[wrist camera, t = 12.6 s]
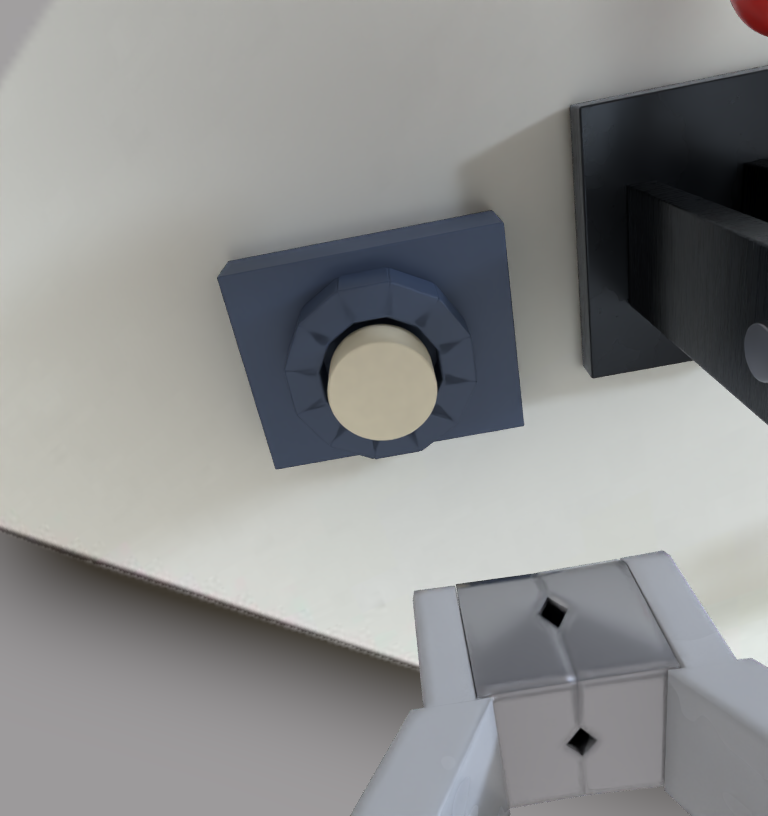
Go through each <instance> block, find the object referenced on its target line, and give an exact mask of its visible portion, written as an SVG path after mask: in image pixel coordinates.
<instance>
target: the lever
mask: <svg viewBox="0 0 768 816" xmlns="http://www.w3.org/2000/svg"><path fill="white" fill-rule="evenodd" d="M730 1H731V3H732V6H733V8H734V10H735V11H736V13H737V15H738V16H739V17H740V19H741V20H742V21H743V22H744V23H745V24H746V25H747V26H748V27H750V28H751V29H753V30H754V31H756V32H758V33H760V34H762V35H764V36H767V37H768V0H730Z"/></svg>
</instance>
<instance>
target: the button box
mask: <svg viewBox="0 0 768 816" xmlns="http://www.w3.org/2000/svg"><path fill="white" fill-rule="evenodd" d="M217 279H218V282H219V286H220V289H221V292H222V296H223V299H224V302H225V305H226V309H227V312H228V315H229V318H230V322H231V325H232V328H233V331H234V335H235V338H236V341H237V345H238V348H239V351H240V354H241V358H242V361H243V364H244V367H245V371H246V374H247V377H248V381H249V384H250V387H251V390H252V394H253V397H254V400H255V403H256V407H257V410H258V413H259V417H260V420H261V423H262V426H263V430H264V433H265V436H266V439H267V443H268V446H269V449H270V453H271V456H272V459H273V462H274V466H275V469H282V468H287V467H293V466H299V465H305V464H310V463H316V462H322V461H327V460H333V459H339V458H344V457H350V456H356V455H362V456H365V457H368V458H372V459H374V458H375V459H379V458H385V457H390V456H396V455H402V454H407V453H413V452H419V451H420V450H421V451H422V450H423V449H425V448H426V447H428V446H429V445H430V444H432V443H433V442H435V441H441V440H447V439H452V438H458V437H464V436H469V435H475V434H481V433H486V432H492V431H498V430H503V429H509V428H515V427H520V426H524V420H523V410H522V400H521V390H520V380H519V370H518V360H517V350H516V341H515V331H514V321H513V311H512V301H511V291H510V281H509V271H508V261H507V251H506V241H505V231H504V223H503V222H502V220H501V219H500V218H499V217H498V216H497V215H496V214H495V213H494V212H493V211H492V210H490V211H485V212H480V213H475V214H470V215H464V216H459V217H454V218H449V219H444V220H439V221H434V222H428V223H423V224H418V225H413V226H408V227H403V228H397V229H392V230H387V231H382V232H377V233H372V234H367V235H361V236H356V237H351V238H346V239H341V240H336V241H330V242H325V243H320V244H315V245H310V246H305V247H300V248H294V249H289V250H284V251H279V252H274V253H269V254H263V255H258V256H253V257H248V258H243V259H238V260H233V261H228V263H227V264H226V265H225V267H224V268H223V270H222V271H221V273H220V274H219V276H218V277H217ZM374 324H390V325H395V326H399V327H401V328H404V329H406V330H408V331H410V332H411V333H413V334H414V335H415V336H417V337H418V338H419V339H420V340H421V341H422V343H423V344H424V345H425V347H426V348H427V350H428V352H429V354H430V357H431V361H432V365H433V369H434V373H435V377H436V381H437V399H436V403H435V406H434V408H433V410H432V412H431V414H430V416H429V417H428V418H427V420H426V421H425V422H424V423H423V424H422V425H421V426H420V427H419V428H418V429H416V430H415V431H413V432H412V433H410V434H408V435H406V436H403V437H400V438H397V439H393V440H371V439H367V438H363V437H360V436H358V435H356V434H354V433H352V432H351V431H349V430H348V429H346V428H345V427H344V426H343V425H342V424H341V423H340V422H339V421H338V420H337V418H336V417H335V415H334V414H333V412H332V410H331V407H330V404H329V401H328V390H327V389H328V379H329V370H330V362H331V359H332V356H333V354H334V351H335V350H336V348H337V346H338V345H339V344H340V342H341V341H342V340H343V339H344V338H345V337H346V336H348V335H349V334H350V333H352V332H354V331H355V330H357V329H359V328H362V327H365V326H369V325H374Z"/></svg>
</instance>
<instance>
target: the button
mask: <svg viewBox="0 0 768 816" xmlns="http://www.w3.org/2000/svg"><path fill="white" fill-rule="evenodd" d="M327 390H328V401H329V404H330V407H331V410H332V412H333V414H334V415H335V417H336V418H337V420H338V421H339V422H340V423H341V424H342V425H343V426H344V427H345V428H346V429H348V430H349V431H351V432H352V433H354V434H356V435H358V436H360V437H363V438H367V439H371V440H393V439H397V438H400V437H403V436H406V435H408V434H410V433H412V432H413V431H415V430H416V429H418V428H419V427H420V426H421V425H422V424H423V423H424V422H425V421H426V420H427V418H428V417H429V416H430V414H431V412H432V410H433V408H434V406H435V403H436V399H437V381H436V377H435V373H434V369H433V365H432V361H431V357H430V354H429V352H428V350H427V348H426V347H425V345H424V344H423V343H422V341H421V340H420V339H419V338H418V337H417V336H415V335H414V334H413V333H411V332H410V331H408V330H406V329H404V328H401V327H399V326H395V325H390V324H374V325H369V326H365V327H362V328H359V329H357V330H355V331H354V332H352V333H350V334H349V335H348V336H346V337H345V338H344V339H343V340H342V341H341V342H340V344H339V345H338V346H337V348H336V350H335V351H334V354H333V356H332V359H331V362H330V370H329V379H328V389H327Z"/></svg>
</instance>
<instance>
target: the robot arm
mask: <svg viewBox="0 0 768 816" xmlns="http://www.w3.org/2000/svg"><path fill="white" fill-rule="evenodd" d="M456 588H457V592H456ZM456 588H455V586H448V587H440V588H432V589H425V590H417V591H414V595H413V607H414V617H415V627H416V637H417V647H418V657H419V667H420V677H421V687H422V697H423V705H424V708H420V709H413V710H410V712H409V714H408V715H407V717H406V719H405V720H404V722H403V724H402V726H401V728H400V729H399V731H398V733H397V734H396V736H395V738H394V740H393V742H392V743H391V745H390V747H389V748H388V750H387V752H386V754H385V755H384V757H383V759H382V761H381V762H380V764H379V766H378V768H377V769H376V771H375V773H374V775H373V777H372V778H371V780H370V782H369V784H368V785H367V787H366V789H365V790H364V792H363V794H362V796H361V797H360V799H359V801H358V803H357V804H356V806H355V808H354V810H353V812H352V813H351V815H350V816H510V810H509V808H515V807H521V806H526V805H532V804H538V803H543V802H549V801H555V800H561V799H566V798H572V797H578V796H584V795H592V794H601V793H610V792H619V791H627V790H635V789H644V788H653V787H662V786H665V791H666V792H667V793H668V794H669V795H670V796H671V797H672V798H673V799H674V800H675V801H676V802H677V803H678V804H679V805H680V806H681V807H682V808H683V809H684V810H685V811H687V813H689V814H690V815H691V816H768V667H766V666H765V665H763V664H761V663H759V662H758V661H756V660H754V659H753V658H748V659H739V660H737V659H736V657H735V656H734V654H733V653H732V651H731V649H730V648H729V646H728V645H727V643H726V642H725V640H724V639H723V637H722V635H721V634H720V632H719V631H718V629H717V628H716V626H715V624H714V623H713V621H712V620H711V618H710V617H709V615H708V613H707V612H706V610H705V609H704V607H703V606H702V604H701V603H700V601H699V599H698V598H697V596H696V595H695V593H694V592H693V590H692V588H691V587H690V585H689V584H688V582H687V581H686V579H685V578H684V576H683V574H682V573H681V571H680V570H679V568H678V567H677V565H676V563H675V562H674V560H673V559H672V557H671V556H670V555H669V554H667V553H666V552H664V551H658V552H652V553H646V554H641V555H635V556H629V557H624V558H620V560H618V559H614V560H609V561H603V562H597V563H591V564H585V565H579V566H574V567H568V568H562V569H556V570H550V571H544V572H538V573H534V574H527V575H520V576H513V577H505V578H498V579H491V580H484V581H476V582H469V583H462V584H456ZM457 595H458V597H457ZM458 601H459V603H458ZM459 607H460V608H459Z"/></svg>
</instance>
